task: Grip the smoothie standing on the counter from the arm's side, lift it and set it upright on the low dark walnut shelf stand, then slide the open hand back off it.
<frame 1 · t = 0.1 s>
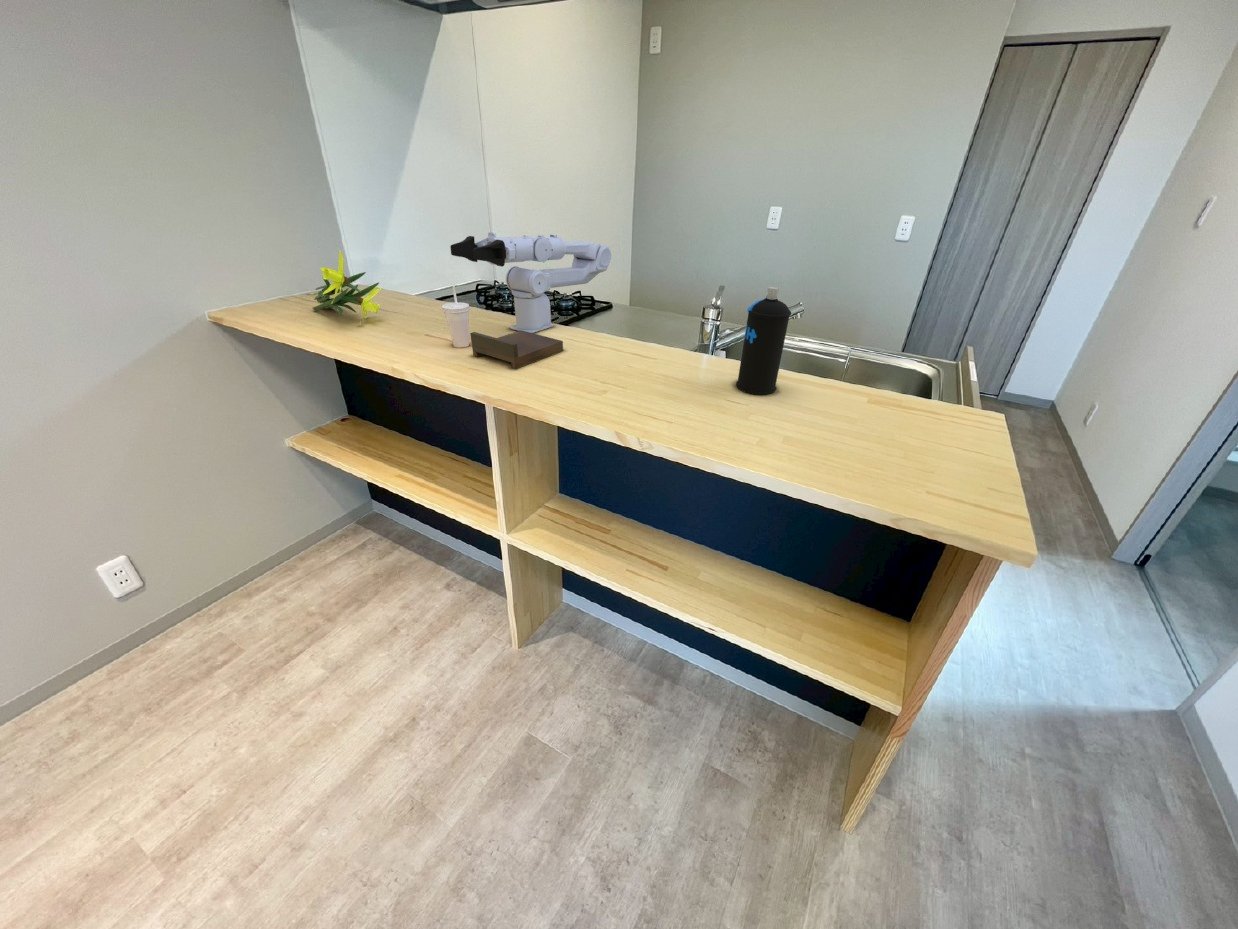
hand: (462, 252, 110), 22 cm above the worktop, tool horizontal, fingers open, 7 cm apart
shelf: (519, 353, 118), on the worktop
smoothie: (461, 345, 122), on the worktop
aerosol can: (755, 388, 102), on the worktop
daffodil flowers: (342, 319, 140), on the worktop
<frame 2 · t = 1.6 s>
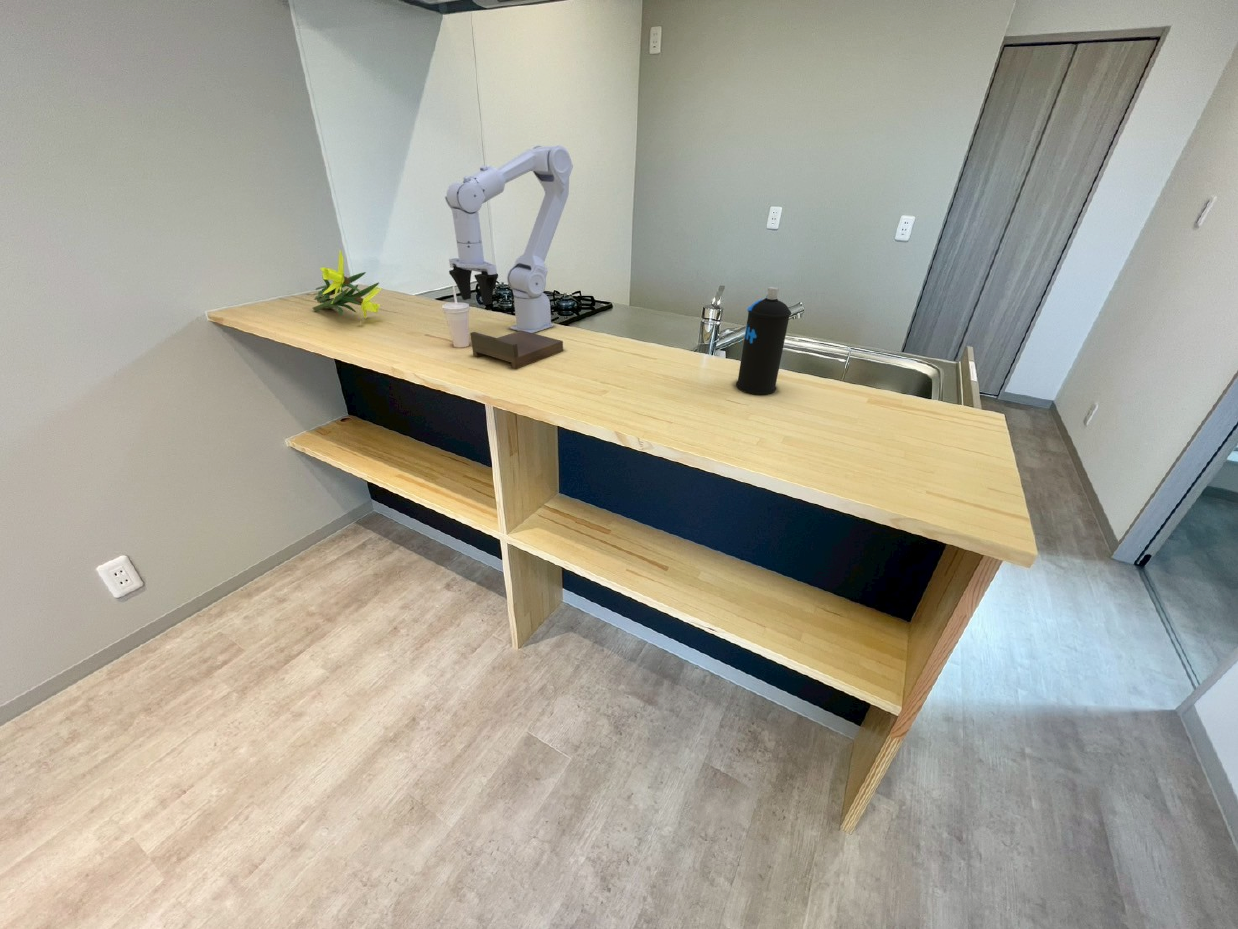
hand: (477, 301, 121), 9 cm above the worktop, tool pointing down, fingers open, 7 cm apart
nothing on the worktop moved.
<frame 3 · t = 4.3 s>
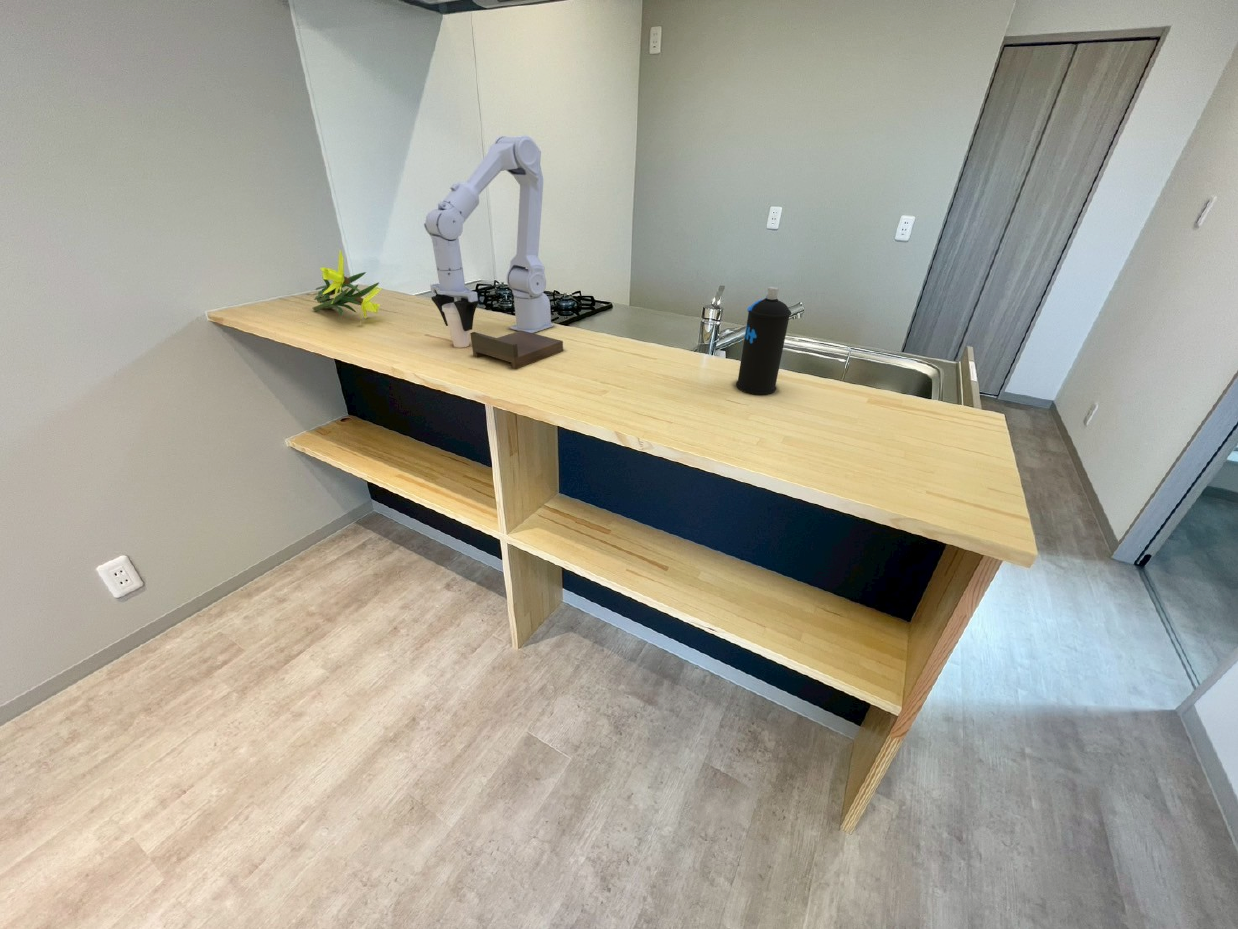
hand: (458, 327, 120), 4 cm above the worktop, tool pointing down, fingers closed on smoothie, 6 cm apart
smoothie: (461, 345, 122), on the worktop, touching gripper
everything else where it was.
when the fingers open (7 cm above the worktop, at t = 8.7 s): smoothie stays where it is, resting on shelf.
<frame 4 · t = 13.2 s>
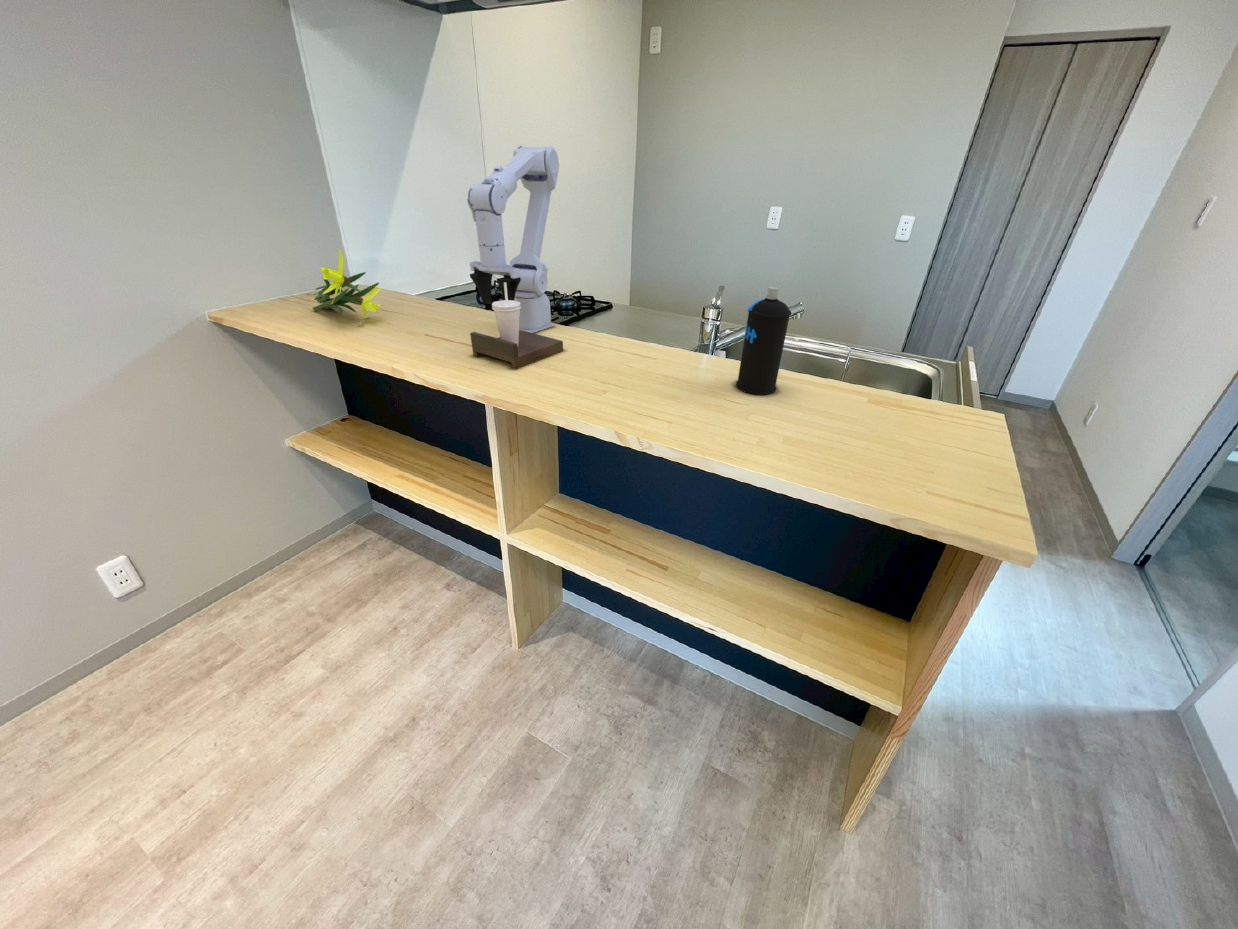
hand: (498, 305, 118), 9 cm above the worktop, tool pointing down, fingers open, 7 cm apart
smoothie: (510, 346, 115), point 2 cm above the worktop, touching shelf
everything else where it was.
at the end: smoothie inside the target area on the shelf (2.8 cm from its centre), point 2.3 cm above the shelf's base; smoothie tilted 0°; the gripper is holding nothing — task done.
